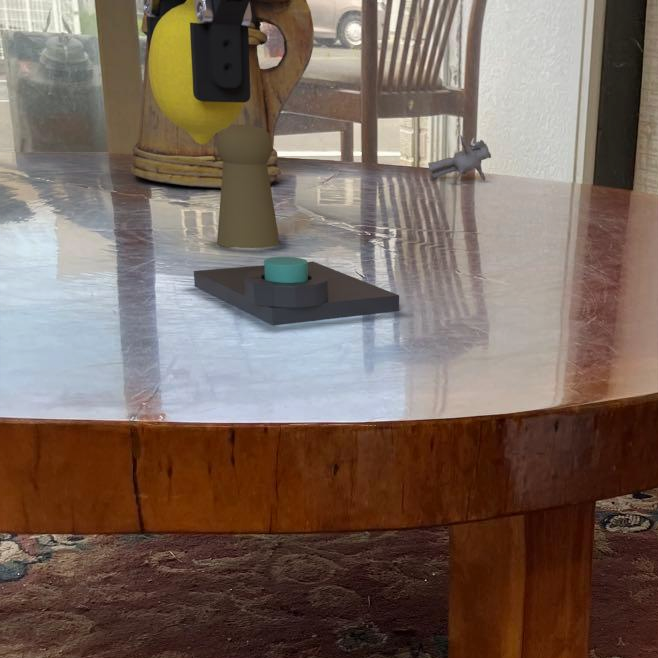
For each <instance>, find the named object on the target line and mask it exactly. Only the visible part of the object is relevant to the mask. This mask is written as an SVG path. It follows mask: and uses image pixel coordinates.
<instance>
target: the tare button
mask: <svg viewBox="0 0 658 658" xmlns="http://www.w3.org/2000/svg"><path fill="white" fill-rule="evenodd" d="M263 262H264V263H263V265H264V271H265V280H267V281H273V282H284V283H295V282H305V281H308V262H309V261H308V260H307V259H305V258H302V257H295V256H271V257H268V258H265V259H264V260H263Z"/></svg>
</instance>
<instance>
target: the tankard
mask: <svg viewBox="0 0 658 658" xmlns="http://www.w3.org/2000/svg"><path fill="white" fill-rule="evenodd" d="M250 7H251V14H252V19H251V24H250V25H249V26H248V31H249V63H250V99H249V101H247V102H244V105H243V108H242V110H241V112H240V114H239V115H238V117H237V118H236V120H235V121H234V122H233V123H232V124H231V125H251V126H256V127H259V128H262V129H264V130H266V131H267V132H268V134H269V135H270V137H271V141H272V153H271V157H270V158H269V160H268V161H267V167H268V173H269V180H270V186H272V185H271V184H273V183H274V182H275V180H276V178H277V177H278V175H281V174H282V169H281V168H280V167H279V164H278V162H279V161H278V160H279V158H278V151H277V150H276V149H275V148H274V147H275V131H276V127H277V124H278V121H279V118H280V116H281V114H282V111H283V109H284V107H285V105H286V103H288V100H289V98H290V97H291V95H292V94H293V92H294V91H295V89H296V88H297V86H298V85H299V83H300V81H301V79H302V78H303V76H304V74H305V71H306V70H307V68H308V66H309V64H310V61H311V58H312V55H313V54H312V53H313V50H314V41H315V35H314V34H315V28H314V22H313V16H312V12H311V9H310V6H309V4H308V0H250ZM146 16H147V15H146V14H145V11H144V10H143V17H142V23H141V27H140V29H141V32H142V33H143V34H144V35H146V41H145V56H144V69H143V70H144V71H143V83H142V96H141V109H140V119H139V130H138V140H137V142H135V144H134V146H132V149H131V151H132V153H133V154H132V156H131V157H132V158H131V161H132V165H131V168H130V172H131V174H132V175H134V176H135V177H138V178H142V179H145V180H148V181H153V182H157V183H162V184H171V185H179V186H184V187H185V186H186V187H194V188H207V189H209V188H210V189H221V185H222V171H223V160H222V159H221V157H220V156H219V154H218V151H217V148H216V138H217V134H218V132H217V133H216V134H215V135H214V136H213V137H212V138H211V140H210V141H209V142H208V143H206V144H199V143H196V142H195V140H194V139H193V138H192V137H191V136H190V135H189V133H188V132H186V131H185V130H183V129H182V128H180V127H178V126H176V125H175V124H173V123H172V122H171V121H170V120H169V119H168V118H167V117H166V116H165V115H164V113H163V112H162V111H161V109H160V108H159V106H158V104H157V102H156V100H155V97H154V94H153V91H152V87H151V83H150V77H149V50H148V35H147V20H146ZM149 17H152V16H149ZM261 23H266V24H268V25H271V26H274V27H276V29H278V31H279V33H280V34H281V36H282V38H283V48H284V49H283V55H282V57H281V59H280V61H279V62H278V64H277V65H273V66H272V67H268V68H261V65H260V60H259V56H258V46H259V45H260V46H262V45H265V44H266V43H267V42H268V38H269V37H268V35H267V34H266V33H265V32H264V31H261V26H262V24H261ZM229 126H230V125H229Z"/></svg>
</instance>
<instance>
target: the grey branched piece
mask: <svg viewBox="0 0 658 658" xmlns="http://www.w3.org/2000/svg"><path fill="white" fill-rule="evenodd" d="M459 138H460V144H461V146H462V147H463V150H460V151H457V152H455V153H454V155H453V157H450V156H449V157H447V158H442V159H440V160H437V161H432V162H427V164H428V169H429V171H430V172H431V175H432V177H433V179H438V178H440V177H442V176H444V175H447V174H451V173H454V172H457V173H458V174H457V177H456V178H455V179H454V183H456V182H457V180H458V179H459V178H460V177H461V176H462V174H463V175H465V174H467V173H468V172H470V171H471V170H474V169H475V170H476V172H478V175H479V176H480V178H481V179H482V180H483V181H485V180H486V176H485V173H484V172H483V170H482V161H484V160H486V159H487V160H488V159H491V158H492V154H491V152H490V150H489V147H488V145H487V144H486V142H485V141H484V140H483V139H480V140H479V141H475V142H474V140H475V137H472V139H471V141H470V146H469V145H467V142H466V140H465V138H464V137H463V135H462V134H461V135H460V137H459Z"/></svg>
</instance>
